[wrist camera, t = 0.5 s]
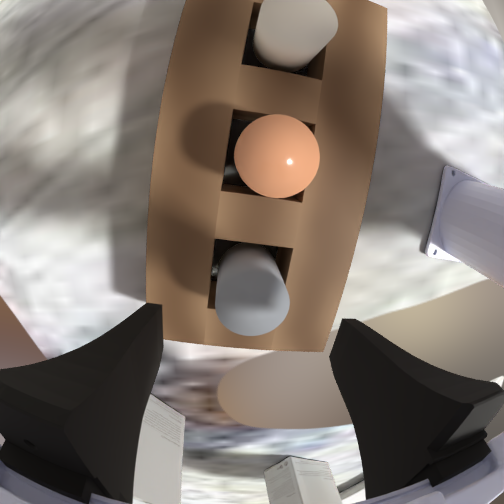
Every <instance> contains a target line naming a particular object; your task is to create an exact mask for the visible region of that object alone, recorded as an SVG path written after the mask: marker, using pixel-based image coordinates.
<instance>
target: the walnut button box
mask: <svg viewBox="0 0 504 504" xmlns="http://www.w3.org/2000/svg"><path fill="white" fill-rule="evenodd" d="M263 1H264V0H186V2H185V5H184V8H183V12H182V15H181V18H180V22H179V26H178V29H177V33H176V37H175V41H174V45H173V49H172V53H171V57H170V62H169V66H168V71H167V75H166V80H165V85H164V90H163V96H162V101H161V107H160V113H159V119H158V126H157V132H156V139H155V147H154V155H153V164H152V173H151V183H150V195H149V208H148V224H147V248H146V303H154V304H162V313H163V339H165V340H172V341H179V342H187V343H195V344H203V345H212V346H222V347H233V348H245V349H259V350H277V351H303V352H305V351H306V352H323V350H324V348H325V345H326V342H327V339H328V337H329V334H330V331H331V328H332V325H333V322H334V319H335V316H336V313H337V310H338V306H339V303H340V300H341V297H342V294H343V290H344V287H345V283H346V280H347V276H348V273H349V269H350V266H351V262H352V258H353V255H354V251H355V247H356V243H357V239H358V235H359V231H360V227H361V222H362V218H363V214H364V209H365V204H366V200H367V195H368V190H369V185H370V180H371V174H372V169H373V163H374V158H375V151H376V145H377V139H378V132H379V124H380V117H381V109H382V100H383V90H384V79H385V65H386V47H387V8H385V7H383V6H380V5H378V4H376V3H373V2H371V1H368V0H326V1H327V2H328V3H329V4H330V5H331V7H332V8H333V10H334V11H335V13H336V16H337V19H338V29H337V32H336V34H335V36H334V37H333V38H332V39H331V40H330V41H329V42H328V43H327V44H326V45H325V46H324V47H323V48H322V50H321V51H320V52H319V53H318V54H317V55H316V56H315V57H314V58H313V59H312V60H311V61H310V62H309V63H308V71H307V77H306V76H302V75H297V74H293V73H288V72H283V71H278V70H273V69H267V68H262V67H255V66H249V65H242V62H243V56H244V51H245V46H246V41H247V36H248V31H249V29H256V25H257V21H258V17H259V12H260V8H261V5H262V3H263ZM273 114H281V115H287V116H290V117H293V118H295V119H297V120H299V121H301V122H302V123H303V124H305V125H306V126H307V127H308V128H309V129H310V131H311V132H312V133H313V135H314V137H315V138H316V141H317V143H318V147H319V152H320V161H319V167H318V170H317V173H316V175H315V177H314V179H313V180H312V182H311V183H310V184H309V185H308V186H307V187H306V188H305V189H304V190H302V191H301V192H299V193H297V194H295V195H293V196H289V197H285V198H271V197H266V196H263V195H261V194H259V193H257V192H255V191H254V190H252V189H251V188H250V187H245V186H238V185H230V184H223V177H224V170H225V164H226V157H227V150H228V144H229V137H230V131H231V125H232V119H239V120H246V121H255V120H256V119H258V118H261V117H263V116H267V115H273ZM215 239H223V240H231V241H240V242H248V243H256V244H264V245H272V246H278V250H277V255H276V260H275V262H276V264H277V267H278V269H279V272H280V274H281V277H282V279H283V281H284V284H285V286H286V289H287V291H288V294H289V299H290V306H289V310H288V313H287V315H286V317H285V319H284V320H283V322H282V323H281V324H280V325H279V326H278V327H276V328H275V329H274V330H272V331H270V332H268V333H265V334H262V335H257V336H245V335H240V334H237V333H234V332H232V331H230V330H229V329H227V328H226V327H225V326H224V325H223V324H222V323H221V322H220V320H219V318H218V316H217V314H216V309H215V299H216V287H217V281H211V274H212V265H213V256H214V247H215Z"/></svg>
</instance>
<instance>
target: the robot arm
mask: <svg viewBox="0 0 504 504" xmlns="http://www.w3.org/2000/svg"><path fill="white" fill-rule="evenodd" d="M452 172H453V174H452ZM434 250H435V251H434ZM433 251H434V253H433ZM425 254H426V255H427V256H429V257H433V258H439V259H445V260H451V261H457V262H462V263H465V264H466V265H468V266H470V267H471V268H473V269H475V270H476V271H478V272H479V273H481V274H483V275H484V276H486V277H487V278H489V279H490V280H492V281H494V282H495V283H497V284H498V285H500V286H501V287H503V288H504V189H502V188H498V187H495V186H491V185H488V184H486V183H484V182H482V181H480V180H478V179H476V178H474V177H472V176H470V175H468V174H466V173H464V172H462V171H460V170H458V169H456V168H454V167H451V166H445V167H444V170H443V176H442V181H441V187H440V192H439V197H438V201H437V206H436V210H435V215H434V219H433V223H432V227H431V231H430V234H429V238H428V242H427V245H426V249H425ZM163 347H164V345H163V313H162V304H154V303H146V304H145V305H143V306H142V307H141V308H139V309H138V310H137V311H135V312H134V313H133V314H132V315H130V316H129V317H128V318H126V319H125V320H124V321H122V322H121V323H120V324H118V325H117V326H115V327H114V328H112V329H111V330H109V331H108V332H106V333H105V334H103V335H102V336H100V337H98V338H97V339H95V340H93V341H91V342H90V343H88V344H86V345H84V346H82V347H80V348H78V349H75V350H73V351H70V352H68V353H65V354H63V355H60V356H58V357H55V358H52V359H49V360H46V361H42V362H39V363H35V364H31V365H26V366H20V367H14V368H7V369H1V370H0V433H1V434H2V436H3V437H4V438H5V442H4V444H3V446H1V445H0V504H133V488H134V475H135V465H136V457H137V450H138V443H139V436H140V431H141V425H142V420H143V416H144V412H145V409H146V406H147V403H148V400H149V397H150V394H151V391H152V388H153V385H154V382H155V379H156V376H157V373H158V370H159V367H160V362H161V357H162V352H163ZM329 358H330V362H331V367H332V371H333V374H334V377H335V380H336V383H337V385H338V387H339V390H340V392H341V395H342V397H343V399H344V402H345V404H346V407H347V409H348V412H349V414H350V416H351V419H352V422H353V425H354V429H355V433H356V437H357V441H358V445H359V450H360V455H361V460H362V467H363V474H364V483H365V497H366V500H364V501H360V502H356V503H352V504H489V503H490V502H491V501H493V500H494V499H495V498H496V497H497V496H499V495H500V494H501V493H502V492H503V491H504V432H502V433H501V434H499V435H498V436H496V437H494V438H493V439H492V440H490V441H489V442H488V443H486V442H485V441H484V438H486V437H487V433H486V431H485V430H484V429H485V428H486V426H487V425H488V424H489V423H490V422H491V420H492V419H493V418H494V417H495V415H496V414H497V413H498V411H499V410H500V408H501V407H502V405H503V404H504V390H503V389H502V388H501V387H500V386H499V385H498V384H497V383H495V382H488V381H482V380H475V379H472V378H467V377H464V376H460V375H457V374H454V373H451V372H448V371H445V370H443V369H440V368H437V367H435V366H433V365H430V364H429V363H427V362H424V361H422V360H421V359H418V358H417V357H415V356H413V355H411V354H410V353H408V352H406V351H405V350H403V349H401V348H400V347H398V346H396V345H395V344H393V343H392V342H390V341H389V340H387V339H386V338H384V337H383V336H382V335H380V334H379V333H377V332H376V331H374V330H373V329H371V328H370V327H368V326H366V325H365V324H364V323H362V322H360V321H358V320H356V319H342V321H341V324H340V327H339V330H338V333H337V336H336V339H335V342H334V345H333V348H332V351H331V353H330V356H329Z"/></svg>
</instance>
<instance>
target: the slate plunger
mask: <svg viewBox="0 0 504 504" xmlns="http://www.w3.org/2000/svg"><path fill="white" fill-rule="evenodd" d="M289 306H290V299H289V294H288V291H287V289H286V286H285V284H284V281H283V279H282V277H281V274H280V272H279V269H278V267H277V264H276V262H275V260H274V257H273V256H272V254H271V253H270V252H269V251H268V250H267V249H266V248H265V247H263V246H261V245H259V244H256V243H248V242H246V243H240V244H237V245H234V246H232V247H231V248H229V249H228V250H227V251H226V252H225V253H224V254H223V256H222V257H221V259H220V262H219V266H218V276H217V287H216V299H215V309H216V314H217V316H218V318H219V320H220V322H221V323H222V324H223V325H224V326H225V327H226V328H227V329H229V330H230V331H232V332H234V333H237V334H240V335H245V336H257V335H262V334H265V333H268V332H270V331H272V330H274V329H275V328H276V327H278V326H279V325H280V324H281V323H282V322H283V320H284V319H285V317H286V315H287V313H288V310H289Z"/></svg>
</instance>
